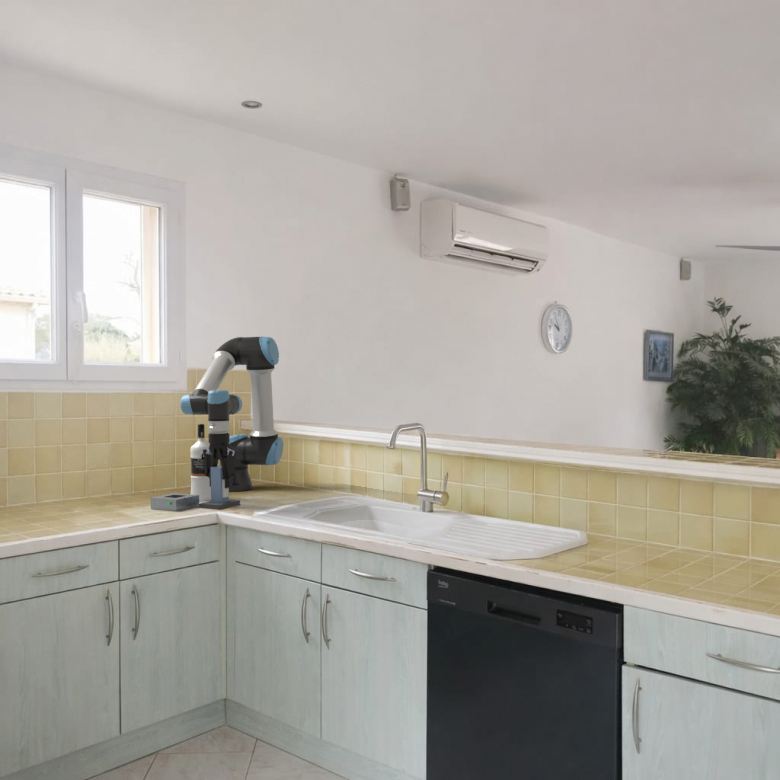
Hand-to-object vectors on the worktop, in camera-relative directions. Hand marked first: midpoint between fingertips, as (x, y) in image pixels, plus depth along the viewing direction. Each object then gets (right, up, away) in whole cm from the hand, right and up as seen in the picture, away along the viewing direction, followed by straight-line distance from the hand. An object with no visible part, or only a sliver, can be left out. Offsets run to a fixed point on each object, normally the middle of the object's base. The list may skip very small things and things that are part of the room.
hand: (219, 496), depth 293 cm
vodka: (-10, -4, +17) cm, 20 cm away
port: (-16, -5, -2) cm, 16 cm away
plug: (0, -3, 0) cm, 3 cm away
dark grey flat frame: (0, -5, 0) cm, 5 cm away
